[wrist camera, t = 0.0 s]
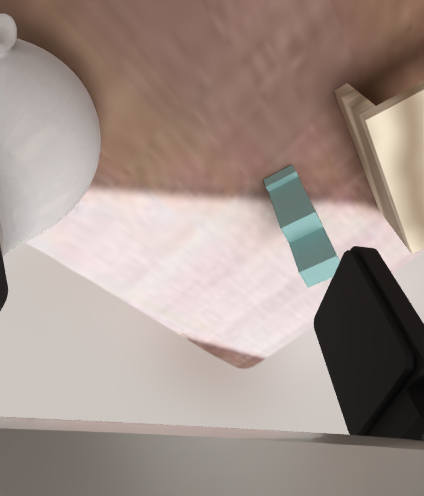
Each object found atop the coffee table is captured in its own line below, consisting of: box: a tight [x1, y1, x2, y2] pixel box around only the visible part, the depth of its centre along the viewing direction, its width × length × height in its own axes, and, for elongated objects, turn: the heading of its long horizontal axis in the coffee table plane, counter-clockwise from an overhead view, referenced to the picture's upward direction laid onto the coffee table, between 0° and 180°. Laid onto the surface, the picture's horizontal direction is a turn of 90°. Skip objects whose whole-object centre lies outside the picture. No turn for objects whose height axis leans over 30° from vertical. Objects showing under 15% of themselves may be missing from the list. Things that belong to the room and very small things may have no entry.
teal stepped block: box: [264, 165, 340, 287], centre depth 46 cm, size 4×9×15 cm, turn 30°
